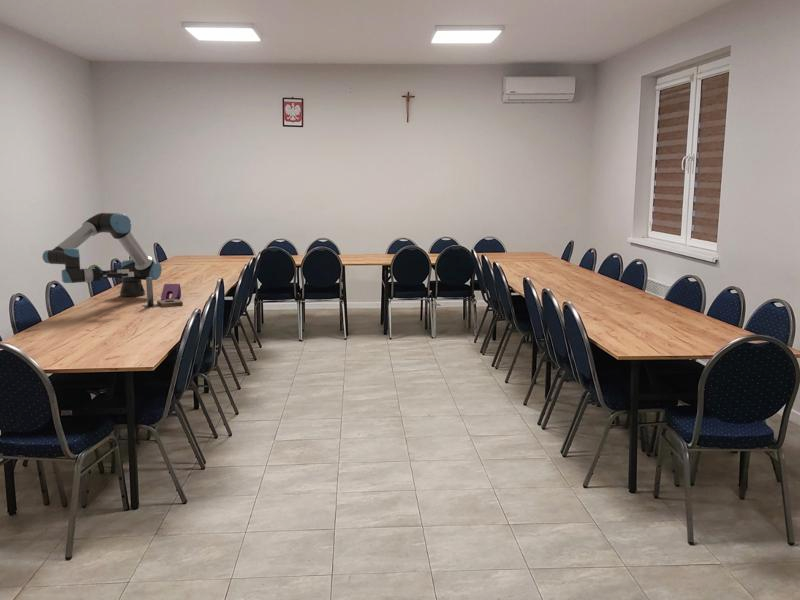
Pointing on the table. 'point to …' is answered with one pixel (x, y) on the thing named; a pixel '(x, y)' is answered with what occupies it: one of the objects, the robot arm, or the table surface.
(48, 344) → the table surface
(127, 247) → the robot arm
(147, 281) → the peg
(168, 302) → the collar
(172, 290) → the mounting bracket
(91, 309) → the table surface
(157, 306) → the mat
